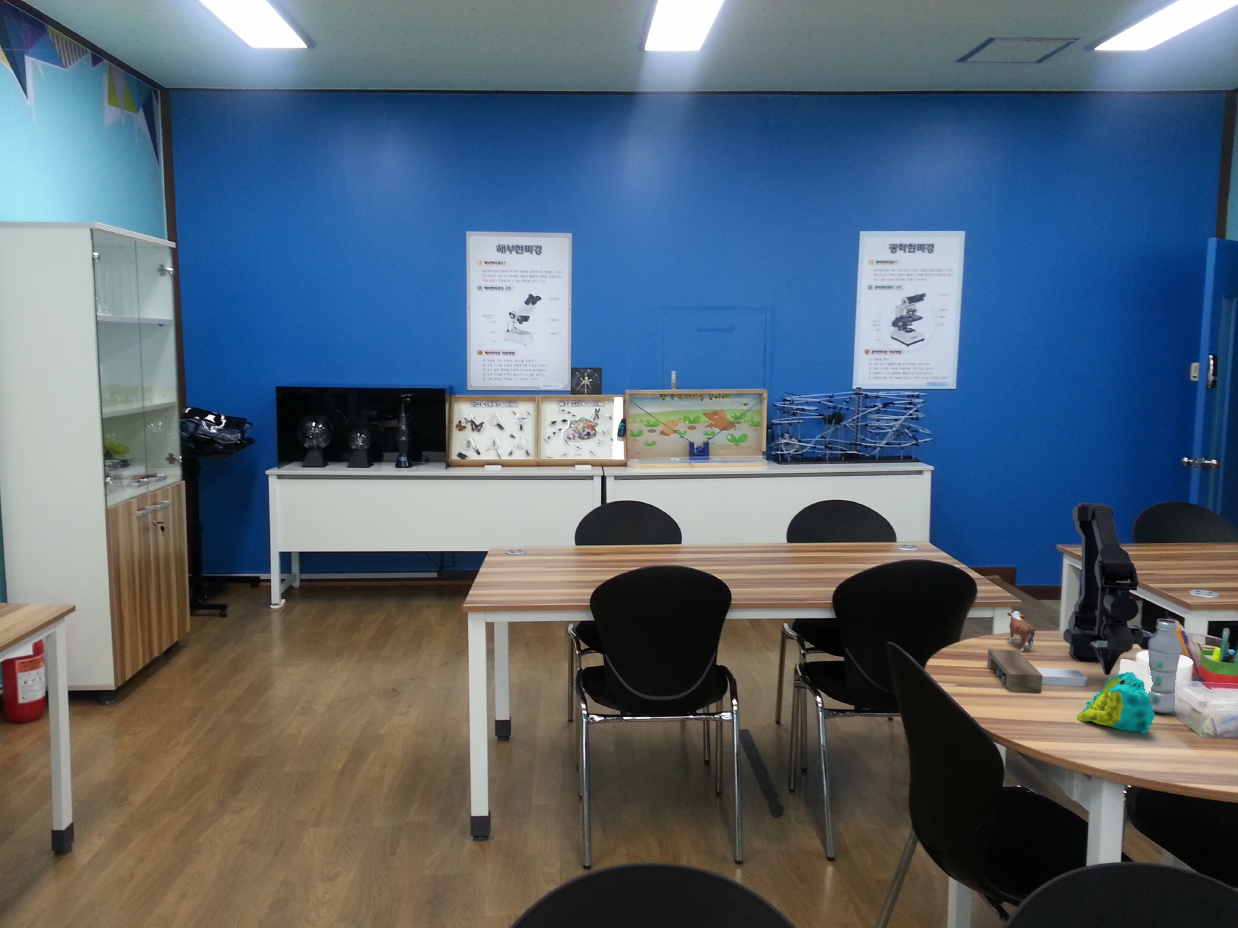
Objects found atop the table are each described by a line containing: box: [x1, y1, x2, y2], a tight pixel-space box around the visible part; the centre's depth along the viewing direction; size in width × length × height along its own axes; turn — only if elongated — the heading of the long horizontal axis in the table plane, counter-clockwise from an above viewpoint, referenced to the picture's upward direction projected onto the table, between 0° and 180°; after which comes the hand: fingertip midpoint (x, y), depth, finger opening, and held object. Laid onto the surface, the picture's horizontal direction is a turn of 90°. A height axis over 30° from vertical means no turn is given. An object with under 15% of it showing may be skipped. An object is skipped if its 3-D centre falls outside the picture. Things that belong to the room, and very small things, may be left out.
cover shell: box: [1035, 667, 1088, 687], centre depth 224 cm, size 11×6×2 cm, turn 84°
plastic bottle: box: [1147, 618, 1182, 714], centre depth 204 cm, size 6×7×20 cm
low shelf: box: [987, 648, 1043, 694], centre depth 224 cm, size 7×18×4 cm, turn 174°
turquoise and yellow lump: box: [1076, 671, 1155, 735], centre depth 197 cm, size 15×12×13 cm
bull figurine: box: [1007, 610, 1036, 653], centre depth 250 cm, size 4×13×8 cm, turn 174°
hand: (1106, 674), depth 222 cm, fingers closed
